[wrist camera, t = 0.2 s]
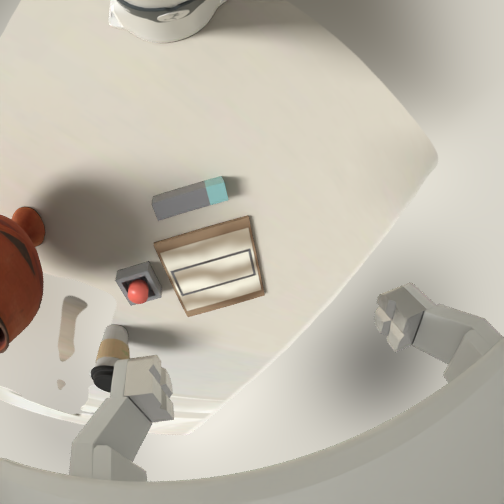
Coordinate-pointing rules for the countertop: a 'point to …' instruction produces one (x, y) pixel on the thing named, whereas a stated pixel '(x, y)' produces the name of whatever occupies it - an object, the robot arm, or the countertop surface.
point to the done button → (138, 291)
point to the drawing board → (212, 266)
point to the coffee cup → (110, 355)
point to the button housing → (139, 272)
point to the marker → (189, 198)
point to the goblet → (19, 272)
